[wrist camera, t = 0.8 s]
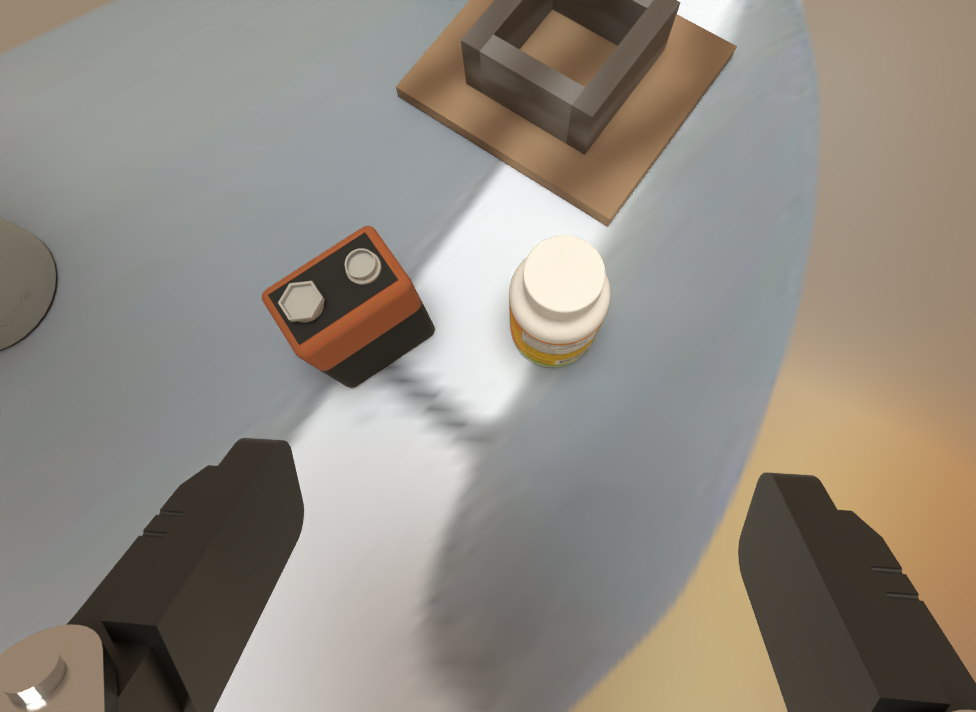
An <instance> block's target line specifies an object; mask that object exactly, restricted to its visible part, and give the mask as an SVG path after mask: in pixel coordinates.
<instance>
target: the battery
mask: <svg viewBox="0 0 976 712" xmlns="http://www.w3.org/2000/svg"><path fill="white" fill-rule="evenodd" d="M262 300H263V302H264V304H265V305H266V307H267V309H268V310H269V312H270V313H271V315H272V317H273V318H274V320H275V321H276V323H277V325H278V326H279V328H280V330H281V331H282V333H283V334H284V336H285V338H286V339H287V341H288V342H289V344H290V346H291V347H292V349H293V350H294V352H295V353H296V355H297V356H298V357H299V358H301V359H302V360H304V361H306V362H307V363H309V364H311V365H312V366H314V367H316V368H317V369H319V370H321V371H322V372H324V373H326V374H327V375H329V376H330V377H332V378H334V379H335V380H337V381H339V382H340V383H342V384H344V385H345V386H347V387H351V388H352V387H355V386H357V385H359V384H360V383H362V382H363V381H365V380H366V379H368V378H369V377H371V376H372V375H374V374H375V373H377V372H378V371H380V370H381V369H383V368H384V367H386V366H387V365H388V364H390V363H391V362H393V361H394V360H396V359H397V358H399V357H400V356H402V355H403V354H405V353H406V352H408V351H409V350H411V349H412V348H414V347H415V346H417V345H418V344H420V343H421V342H423V341H424V340H426V339H427V338H428V337H430V336H431V335H432V334H433V333H434V330H435V328H434V325H433V323H432V321H431V319H430V317H429V315H428V313H427V311H426V309H425V307H424V305H423V303H422V301H421V299H420V297H419V295H418V293H417V291H416V289H415V287H414V285H413V283H412V282H411V280H410V278H409V277H408V275H407V274H406V273H405V271H404V270H403V268H402V267H401V265H400V264H399V263H398V261H397V260H396V258H395V257H394V255H393V254H392V253H391V251H390V250H389V248H388V247H387V246H386V244H385V243H384V241H383V240H382V238H381V237H380V236H379V234H378V233H377V231H376V230H375V229H374V228H373V227H371V226H365V227H363V228H361V229H359V230H358V231H356V232H354V233H353V234H351V235H350V236H348V237H347V238H345V239H343V240H342V241H340V242H339V243H337V244H336V245H334V246H333V247H331V248H330V249H328V250H326V251H325V252H323V253H322V254H320V255H319V256H317V257H316V258H314V259H312V260H311V261H309V262H308V263H306V264H305V265H303V266H302V267H300V268H299V269H297V270H295V271H294V272H292V273H291V274H289V275H288V276H286V277H285V278H283V279H281V280H280V281H278V282H277V283H275V284H274V285H272V286H271V287H269V288H268V289H266V290H265V291H264V292H263V294H262Z"/></svg>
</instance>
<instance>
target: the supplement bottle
mask: <svg viewBox="0 0 976 712" xmlns="http://www.w3.org/2000/svg"><path fill="white" fill-rule="evenodd" d="M609 302H610V286H609V281H608V278H607V276H606V273H605V267H604V263H603V260H602V258H601V256H600V255H599V253H598V252H597V251H596V249H595V248H594V247H593V246H591V245H590V244H589V243H587V242H586V241H584V240H582V239H580V238H576V237H572V236H556V237H552V238H549V239H547V240H544V241H543V242H541V243H540V244H538V245H537V246H536V247H535V248H534V249H533V250H532V251H531V252H530V254H529V255H528V257H527V258H526V259H524V260H523V262H522V263H521V264H520V265H519V266H518V268H517V269H516V271H515V273H514V275H513V277H512V280H511V284H510V290H509V309H510V328H511V334H512V338H513V341H514V343H515V345H516V347H517V348H518V350H519V351H520V352H521V354H522V355H524V356H525V357H526V358H527V359H529V360H530V361H532V362H534V363H536V364H538V365H541V366H545V367H561V366H565V365H568V364H571V363H573V362H575V361H576V360H578V359H579V358H580V357H581V356H583V355H584V354H585V352H586V351H587V350H588V349H589V347H590V345H591V344H592V342H593V340H594V338H595V336H596V334H597V332H598V330H599V328H600V326H601V324H602V322H603V320H604V317H605V315H606V313H607V310H608V307H609Z"/></svg>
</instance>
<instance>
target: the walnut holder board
mask: <svg viewBox="0 0 976 712" xmlns="http://www.w3.org/2000/svg"><path fill="white" fill-rule="evenodd" d="M679 5H680V2H678V1H677V0H470V1H469V2H468V3H467V4H466V5H465V7H464V8H463V9H462V10H461V11H460V12H459V14H458V15H457V16H456V17H455V18H454V19H453V21H452V22H451V23H450V24H449V25H448V27H447V28H446V29H445V30H444V31H443V32H442V34H441V35H440V36H439V37H438V38H437V39H436V41H435V42H434V43H433V44H432V45H431V46H430V48H429V49H428V50H427V51H426V52H425V53H424V55H423V56H422V57H421V58H420V59H419V61H418V62H417V63H416V64H415V65H414V66H413V68H412V69H411V70H410V71H409V72H408V73H407V75H406V76H405V77H404V78H403V79H402V80H401V82H400V83H399V84H398V85H397V86H396V89H397V92H398V96H399V97H400V98H402V99H404V100H405V101H407V102H408V103H410V104H412V105H413V106H415V107H417V108H418V109H420V110H421V111H423V112H425V113H426V114H428V115H429V116H431V117H433V118H434V119H436V120H437V121H439V122H441V123H442V124H444V125H445V126H447V127H449V128H450V129H452V130H454V131H455V132H457V133H458V134H460V135H462V136H463V137H465V138H466V139H468V140H470V141H471V142H473V143H474V144H476V145H478V146H479V147H481V148H482V149H484V150H486V151H487V152H489V153H491V154H492V155H494V156H495V157H497V158H499V159H500V160H502V161H503V162H505V163H507V164H508V165H510V166H511V167H513V168H515V169H516V170H518V171H519V172H521V173H523V174H524V175H526V176H528V177H529V178H531V179H532V180H534V181H536V182H537V183H539V184H540V185H542V186H544V187H545V188H547V189H548V190H550V191H552V192H553V193H555V194H557V195H558V196H560V197H561V198H563V199H565V200H566V201H568V202H569V203H571V204H573V205H574V206H576V207H577V208H579V209H581V210H582V211H584V212H585V213H587V214H589V215H590V216H592V217H594V218H595V219H597V220H598V221H600V222H602V223H603V224H605V225H606V226H608V225H609V224H610V222H611V221H612V220H613V218H614V217H615V216H616V214H617V213H618V212H619V210H620V209H621V207H622V206H623V205H624V203H625V202H626V201H627V199H628V198H629V196H630V195H631V194H632V192H633V191H634V190H635V188H636V187H637V186H638V184H639V183H640V181H641V180H642V179H643V177H644V176H645V175H646V173H647V172H648V171H649V169H650V168H651V166H652V165H653V164H654V162H655V161H656V160H657V158H658V157H659V156H660V154H661V153H662V151H663V150H664V149H665V147H666V146H667V145H668V143H669V142H670V141H671V139H672V138H673V136H674V135H675V134H676V132H677V131H678V130H679V128H680V127H681V126H682V124H683V123H684V121H685V120H686V119H687V117H688V116H689V115H690V113H691V112H692V111H693V109H694V108H695V106H696V105H697V104H698V102H699V101H700V100H701V98H702V97H703V95H704V94H705V93H706V91H707V90H708V89H709V87H710V86H711V85H712V83H713V82H714V80H715V79H716V78H717V76H718V75H719V74H720V72H721V71H722V70H723V68H724V67H725V65H726V64H727V63H728V61H729V60H730V59H731V57H732V55H733V53H734V51H735V49H736V47H737V46H735V45H733V44H731V43H730V42H728V41H726V40H724V39H722V38H720V37H718V36H716V35H715V34H713V33H711V32H709V31H707V30H705V29H703V28H701V27H699V26H698V25H696V24H694V23H692V22H690V21H688V20H686V19H684V18H683V17H681V16H679V15H677V11H678V8H679Z"/></svg>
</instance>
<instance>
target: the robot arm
mask: <svg viewBox="0 0 976 712" xmlns="http://www.w3.org/2000/svg"><path fill="white" fill-rule="evenodd" d="M55 283H56V271H55V265H54V261H53V258H52V256H51V254H50V251H49V250H48V249H47V247H46V246H45V245H44V244H43V242H42V241H40V240H39V239H38V238H36V237H35V236H34V235H32V234H30V233H28V232H27V231H25V230H23V229H21V228H19V227H17V226H15V225H13V224H11V223H9V222H8V221H6V220H4V219H2V218H0V350H1V349H3V348H6V347H8V346H11V345H12V344H14V343H15V342H17V341H19V340H20V339H22V338H23V337H25V336H26V335H27V334H28V333H29V332H30V331H31V330H32V329H33V328H34V327H35V326H36V325H37V324H38V322H39V321H40V320H41V319H42V317H43V316H44V315H45V313H46V311H47V309H48V307H49V305H50V303H51V301H52V297H53V294H54V290H55ZM303 519H304V505H303V499H302V495H301V491H300V486H299V482H298V477H297V473H296V468H295V464H294V459H293V455H292V451H291V447H290V445H289V444H288V442H286V441H284V440H268V439H253V438H242V439H240V440H238V441H237V442H236V443H235V444H234V446H233V447H232V448H231V450H230V451H229V452H228V454H227V455H226V456H225V457H224V459H223V460H222V461H221V463H220V464H219V465H218V466H209V465H208V466H207V467H205V468H204V469H202V470H201V471H200V472H198V473H197V474H195V475H194V476H192V477H191V478H190V479H188V480H187V481H185V482H184V483H183V484H181V485H180V486H179V487H178V488H177V490H176V491H175V492H174V493H173V495H172V496H171V497H170V498H169V499H168V501H167V502H166V503H165V504H164V506H163V507H162V508H161V509H160V514H159V515H156V516H155V517H154V518H153V519H152V520H151V522H150V523H149V524H148V525H147V527H146V528H145V529H144V530H143V531H144V533H143V535H142V536H139V537H138V538H137V539H136V540H135V542H134V543H133V544H132V545H131V546H130V548H129V549H128V550H127V551H126V553H125V554H124V555H123V556H122V558H121V559H120V560H119V561H118V563H117V564H116V565H115V566H114V567H113V569H112V570H111V571H110V572H109V574H108V575H107V576H106V577H105V579H104V580H103V581H102V582H101V584H100V585H99V586H98V587H97V588H96V590H95V591H94V592H93V593H92V595H91V596H90V597H89V598H88V600H87V601H86V602H85V603H84V605H83V606H82V607H81V608H80V609H79V611H78V612H77V613H76V614H75V616H74V617H73V618H72V619H71V620H70V621H69V622H68V623H67V625H61V626H56V627H52V628H49V629H46V630H43V631H40V632H37V633H35V634H33V635H31V636H29V637H27V638H25V639H23V640H21V641H20V642H18V643H16V644H15V645H13V646H12V647H10V648H9V649H7V650H6V651H5V652H3V653H2V654H1V655H0V712H213V711H214V709H215V707H216V705H217V703H218V701H219V699H220V697H221V695H222V693H223V691H224V689H225V687H226V685H227V683H228V681H229V679H230V676H231V674H232V672H233V670H234V668H235V666H236V664H237V662H238V660H239V658H240V656H241V654H242V652H243V650H244V648H245V646H246V644H247V642H248V640H249V638H250V636H251V634H252V632H253V630H254V628H255V626H256V624H257V622H258V620H259V618H260V616H261V614H262V612H263V610H264V608H265V606H266V604H267V602H268V600H269V598H270V596H271V594H272V592H273V590H274V588H275V585H276V583H277V581H278V579H279V577H280V575H281V573H282V571H283V569H284V567H285V565H286V563H287V561H288V559H289V557H290V555H291V553H292V551H293V549H294V547H295V545H296V543H297V541H298V539H299V536H300V533H301V530H302V525H303ZM738 555H739V565H740V571H741V575H742V579H743V582H744V585H745V587H746V590H747V593H748V596H749V599H750V602H751V605H752V608H753V611H754V614H755V617H756V620H757V623H758V626H759V629H760V631H761V634H762V637H763V640H764V643H765V646H766V649H767V652H768V655H769V658H770V661H771V664H772V667H773V670H774V672H775V675H776V678H777V681H778V684H779V687H780V690H781V693H782V696H783V699H784V702H785V705H786V708H787V711H788V712H976V683H975V681H974V680H973V678H972V677H971V675H970V674H969V672H968V670H967V669H966V667H965V666H964V664H963V663H962V661H961V660H960V658H959V656H958V655H957V653H956V652H955V650H954V649H953V647H952V645H951V644H950V642H949V641H948V639H947V638H946V636H945V635H944V633H943V631H942V630H941V628H940V627H939V625H938V624H937V622H936V621H935V619H934V617H933V616H932V614H931V613H930V611H929V610H928V608H927V606H926V605H925V603H924V602H923V601H920V600H919V598H918V595H919V594H918V592H917V591H916V589H915V588H914V586H913V585H912V583H911V581H910V580H909V578H908V577H907V575H906V574H902V567H901V566H900V564H899V563H898V561H897V560H896V558H895V557H894V555H893V554H892V552H891V550H890V549H889V547H888V546H887V544H886V543H885V541H884V539H883V538H882V537H881V536H880V535H879V534H878V533H877V532H875V531H874V530H873V529H872V528H871V527H870V526H869V525H867V524H866V523H865V522H864V521H863V520H861V518H859V517H858V516H857V515H856V514H855V513H854V512H852V511H845V510H837V508H836V507H835V505H834V503H833V502H832V500H831V498H830V496H829V495H828V493H827V491H826V489H825V488H824V486H823V485H822V483H821V481H820V480H819V479H818V478H817V477H815V476H812V475H797V474H780V473H763V474H762V475H761V476H760V478H759V480H758V482H757V485H756V488H755V491H754V494H753V497H752V501H751V504H750V507H749V511H748V514H747V517H746V520H745V523H744V526H743V529H742V532H741V536H740V540H739V550H738Z"/></svg>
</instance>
